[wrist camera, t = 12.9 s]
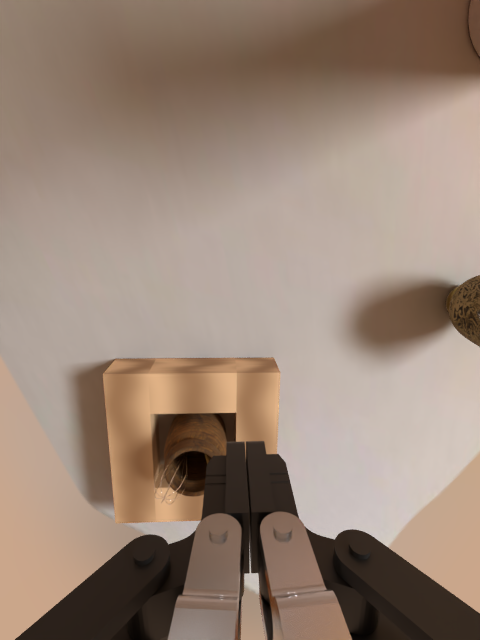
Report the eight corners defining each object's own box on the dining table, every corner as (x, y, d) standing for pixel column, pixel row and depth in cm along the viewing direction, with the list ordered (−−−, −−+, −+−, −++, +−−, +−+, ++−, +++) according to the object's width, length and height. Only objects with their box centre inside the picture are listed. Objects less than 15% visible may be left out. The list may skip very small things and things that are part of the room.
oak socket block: (273, 357, 35) (280, 372, 31) (268, 490, 39) (273, 517, 35) (115, 358, 34) (102, 374, 30) (126, 494, 38) (115, 523, 34)
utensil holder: (181, 395, 35) (162, 472, 24) (237, 415, 36) (245, 499, 25) (161, 442, 36) (133, 538, 25) (216, 461, 37) (214, 562, 26)
